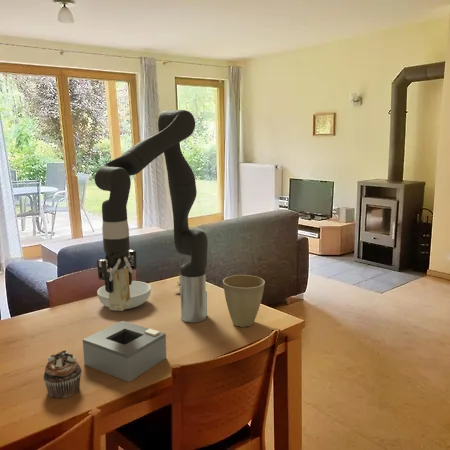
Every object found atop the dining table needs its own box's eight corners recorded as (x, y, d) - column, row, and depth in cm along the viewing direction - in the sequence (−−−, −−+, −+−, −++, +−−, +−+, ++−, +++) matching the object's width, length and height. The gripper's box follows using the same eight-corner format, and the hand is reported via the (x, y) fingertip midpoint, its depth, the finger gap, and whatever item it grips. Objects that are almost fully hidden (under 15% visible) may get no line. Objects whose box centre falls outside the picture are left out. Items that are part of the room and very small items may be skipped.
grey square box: (123, 343, 145) (122, 318, 144) (166, 358, 136) (165, 331, 134) (84, 364, 132) (82, 337, 130) (128, 382, 123) (127, 353, 121)
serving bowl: (127, 292, 193) (126, 277, 191) (162, 302, 181) (161, 286, 179) (87, 307, 176) (85, 290, 175) (122, 319, 164) (121, 302, 163)
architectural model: (184, 296, 189) (184, 280, 187) (172, 293, 193) (172, 277, 191) (190, 294, 191) (189, 278, 190) (178, 291, 195) (177, 275, 194)
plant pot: (253, 335, 151) (253, 290, 148) (215, 326, 158) (215, 283, 155) (270, 319, 164) (271, 278, 161) (235, 312, 171) (235, 272, 168)
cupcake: (36, 393, 117) (33, 358, 115) (66, 376, 125) (64, 343, 123) (60, 404, 112) (57, 368, 110) (90, 386, 120) (88, 352, 118)
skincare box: (122, 311, 132) (120, 272, 129) (109, 310, 133) (106, 271, 130) (131, 303, 138) (129, 265, 136) (118, 302, 139) (115, 264, 136)
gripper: (107, 241, 123) (110, 298, 126) (142, 231, 135) (144, 283, 138) (88, 238, 127) (92, 293, 130) (123, 229, 139) (126, 279, 142)
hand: (119, 288), depth 134 cm, fingers closed on skincare box, 7 cm apart
